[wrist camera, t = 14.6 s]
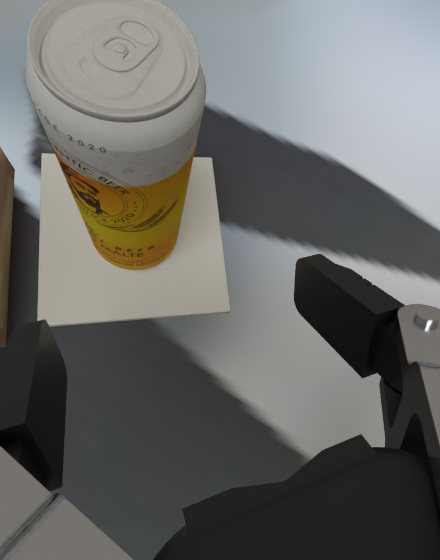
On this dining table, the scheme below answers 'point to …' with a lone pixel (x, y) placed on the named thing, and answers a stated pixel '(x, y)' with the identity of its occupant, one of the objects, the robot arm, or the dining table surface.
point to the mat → (121, 282)
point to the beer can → (119, 117)
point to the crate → (5, 238)
